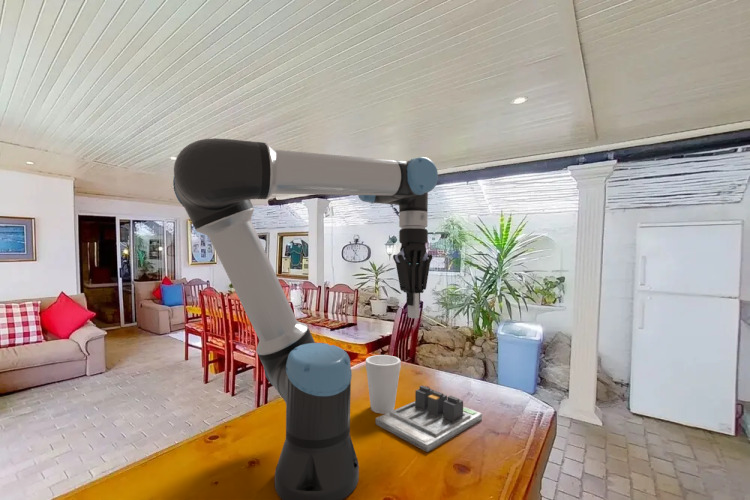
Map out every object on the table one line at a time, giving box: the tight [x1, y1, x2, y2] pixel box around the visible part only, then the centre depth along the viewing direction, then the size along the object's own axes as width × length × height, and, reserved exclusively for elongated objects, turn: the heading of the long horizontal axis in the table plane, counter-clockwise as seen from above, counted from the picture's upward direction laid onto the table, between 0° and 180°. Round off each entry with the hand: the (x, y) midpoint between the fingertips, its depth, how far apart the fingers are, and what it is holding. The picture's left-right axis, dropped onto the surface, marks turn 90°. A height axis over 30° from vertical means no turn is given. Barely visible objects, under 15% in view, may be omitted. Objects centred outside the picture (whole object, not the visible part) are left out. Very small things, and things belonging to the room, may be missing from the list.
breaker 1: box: [414, 385, 435, 409], centre depth 91 cm, size 4×3×5 cm
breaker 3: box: [443, 395, 464, 422], centre depth 85 cm, size 4×3×5 cm
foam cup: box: [365, 354, 402, 415], centre depth 93 cm, size 10×9×13 cm
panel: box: [375, 401, 483, 453], centre depth 85 cm, size 22×16×2 cm
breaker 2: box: [428, 390, 448, 416], centre depth 88 cm, size 4×3×5 cm
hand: (413, 317), depth 91 cm, fingers closed
